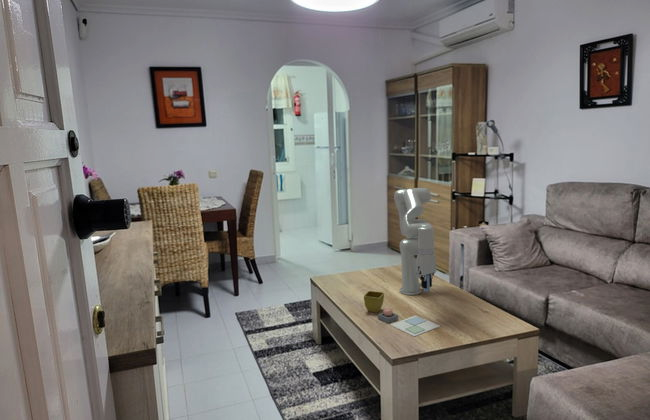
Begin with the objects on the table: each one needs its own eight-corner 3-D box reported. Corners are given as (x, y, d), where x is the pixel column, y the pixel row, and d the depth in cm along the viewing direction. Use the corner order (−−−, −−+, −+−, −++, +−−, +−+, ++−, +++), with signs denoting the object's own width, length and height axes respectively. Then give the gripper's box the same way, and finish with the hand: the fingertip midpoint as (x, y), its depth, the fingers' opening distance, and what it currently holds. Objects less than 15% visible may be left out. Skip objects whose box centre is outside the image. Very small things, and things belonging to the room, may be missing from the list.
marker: (426, 289, 220) (426, 270, 219) (431, 291, 218) (430, 271, 216) (422, 291, 219) (422, 271, 217) (427, 292, 216) (426, 273, 215)
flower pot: (385, 308, 233) (384, 292, 231) (379, 314, 225) (379, 298, 223) (369, 306, 236) (368, 290, 235) (363, 312, 228) (363, 296, 227)
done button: (388, 312, 221) (388, 307, 221) (394, 314, 218) (394, 309, 217) (381, 314, 219) (381, 309, 218) (387, 317, 215) (387, 312, 215)
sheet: (415, 316, 221) (415, 315, 221) (440, 326, 208) (440, 325, 207) (390, 325, 212) (390, 324, 211) (414, 336, 198) (414, 335, 198)
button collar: (388, 315, 223) (388, 310, 223) (398, 319, 218) (398, 314, 217) (378, 318, 220) (378, 314, 219) (387, 323, 214) (387, 318, 213)
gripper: (431, 247, 223) (432, 281, 225) (408, 252, 213) (409, 289, 216) (443, 249, 216) (443, 285, 219) (420, 255, 207) (420, 292, 210)
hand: (426, 286), depth 218 cm, fingers closed on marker, 2 cm apart
